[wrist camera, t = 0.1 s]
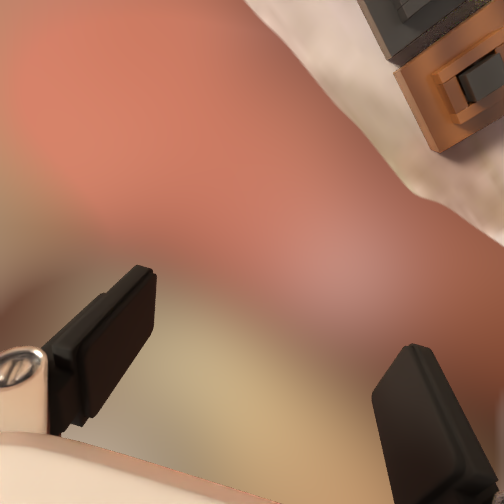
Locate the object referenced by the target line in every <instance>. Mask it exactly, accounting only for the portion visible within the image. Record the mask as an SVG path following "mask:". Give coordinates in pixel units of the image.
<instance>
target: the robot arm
mask: <svg viewBox="0 0 504 504" xmlns="http://www.w3.org/2000/svg"><path fill="white" fill-rule="evenodd" d="M156 282H157V275H156V274H154V273H153V270H152V269H150V268H147V267H143V266H140V265H136V266H134V267H133V268H132V269H131V270H130V271H129V272H128V273H127V274H126V275H125V276H124V277H123V278H121V279H120V280H119V281H118V282H117V283H116V284H115V285H114V286H113V287H112V288H111V289H110V290H109V291H108V292H107V293H102V294H100V295H98V296H97V297H96V298H95V299H94V300H93V301H92V302H91V303H90V304H89V305H88V306H86V307H85V308H84V309H83V310H82V311H81V312H80V313H79V314H77V315H76V316H75V317H74V318H73V319H72V320H71V321H70V322H69V323H68V324H67V325H66V326H64V327H63V328H62V329H61V330H60V331H59V332H58V333H57V334H56V335H55V336H53V337H52V338H51V339H50V340H49V341H48V342H47V343H46V344H45V345H44V346H43V347H41V348H37V347H34V346H20V347H14V348H11V349H7V350H5V351H3V352H1V353H0V504H281V503H278V502H274V501H271V500H268V499H265V498H262V497H259V496H256V495H252V494H249V493H246V492H243V491H240V490H237V489H234V488H230V487H227V486H224V485H221V484H218V483H215V482H211V481H208V480H205V479H202V478H199V477H195V476H192V475H189V474H186V473H182V472H179V471H176V470H173V469H170V468H167V467H163V466H160V465H157V464H154V463H151V462H147V461H144V460H141V459H137V458H134V457H131V456H128V455H124V454H121V453H118V452H114V451H111V450H107V449H103V448H100V447H97V446H93V445H90V444H87V443H83V442H80V441H75V440H71V439H67V438H62V437H61V433H62V432H64V431H65V430H66V429H67V428H68V426H69V425H70V424H74V425H77V426H80V427H83V425H84V424H85V422H86V421H87V419H88V418H89V417H90V418H93V417H95V416H96V415H97V413H98V412H99V410H100V409H101V408H102V406H103V405H104V403H105V401H106V400H107V399H108V397H109V396H110V394H111V393H112V391H113V390H114V388H115V387H116V385H117V384H118V382H119V381H120V379H121V378H122V377H123V375H124V374H125V372H126V371H127V369H128V368H129V366H130V365H131V363H132V362H133V360H134V359H135V357H136V356H137V354H138V353H139V351H140V350H141V348H142V347H143V345H144V344H145V342H146V341H147V339H148V338H149V337H150V335H151V333H152V331H153V327H154V313H155V298H156ZM372 404H373V409H374V413H375V418H376V422H377V427H378V431H379V436H380V440H381V445H382V449H383V454H384V458H385V462H386V467H387V472H388V476H389V481H390V485H391V490H392V494H393V498H394V503H395V504H504V490H501V491H499V489H498V487H497V485H496V483H495V482H497V481H498V478H497V476H496V475H495V473H494V471H493V469H492V467H491V465H490V463H489V461H488V459H487V457H486V455H485V453H484V451H483V449H482V447H481V445H480V443H479V441H478V440H477V437H476V436H475V434H474V432H473V430H472V428H471V426H470V424H469V422H468V420H467V418H466V416H465V414H464V412H463V410H462V408H461V406H460V405H459V402H458V400H457V399H456V397H455V395H454V393H453V391H452V389H451V387H450V385H449V383H448V381H447V379H446V377H445V375H444V373H443V371H442V369H441V367H440V366H439V364H438V362H437V360H436V358H435V356H434V354H433V352H432V350H431V349H429V348H427V347H424V346H420V345H417V344H410V345H409V346H404V347H403V348H402V350H401V351H400V353H399V354H398V356H397V357H396V359H395V360H394V362H393V363H392V364H391V366H390V367H389V369H388V370H387V372H386V373H385V375H384V376H383V377H382V379H381V380H380V382H379V383H378V385H377V386H376V388H375V389H374V391H373V393H372Z"/></svg>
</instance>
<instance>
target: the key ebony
mask: <svg viewBox="0 0 504 504" xmlns="http://www.w3.org/2000/svg"><path fill="white" fill-rule="evenodd" d="M458 77H459V79H460V82H461V84H462V86H463V89H464V91H465V93H466V96H467V98H468V100H469V102H478V101H479V100H481V99H482V98H484V97H486V96H487V95H489V94H490V93H492V92H494V91H495V90H497V89H498V88H500V87H502V86H503V85H504V63H503V60H502V57H501V55H500V53H495V54H492V55H489V56H487V57H486V58H484V59H483V60H482V61H480V62H479V63H477V64H476V65H474V66H473V67H471V68H470V69H468V70H467V71H465V72H464V73H462V74H461V75H459V76H458Z"/></svg>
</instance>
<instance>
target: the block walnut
mask: <svg viewBox="0 0 504 504" xmlns="http://www.w3.org/2000/svg"><path fill="white" fill-rule="evenodd" d="M495 53H500V55H501V57H502V60H503V63H504V0H491V1H489V2H488V3H487V4H485V5H484V6H483V7H481V8H480V9H479V10H477V11H476V12H475V13H473V14H472V15H471V16H469V17H468V18H467V19H465V20H464V21H462V22H461V23H460V24H458V25H457V26H456V27H454V28H453V29H452V30H450V31H449V32H448V33H446V34H445V35H444V36H442V37H441V38H440V39H438V40H437V41H436V42H434V43H433V44H432V45H430V46H429V47H427V48H426V49H425V50H423V51H422V52H421V53H419V54H418V55H417V56H415V57H414V58H413V59H411V60H410V61H409V62H407V63H406V64H405V65H403V66H402V67H401V68H399V69H398V70H397V71H395V72H394V73H393V74H394V76H395V78H396V80H397V82H398V84H399V86H400V88H401V90H402V92H403V94H404V96H405V98H406V100H407V102H408V104H409V106H410V108H411V110H412V113H413V115H414V117H415V119H416V121H417V123H418V125H419V127H420V129H421V131H422V133H423V135H424V137H425V139H426V141H427V143H428V145H429V147H430V149H431V150H434V151H436V152H439V153H441V152H443V151H445V150H446V149H448V148H450V147H452V146H453V145H455V144H457V143H458V142H460V141H462V140H463V139H465V138H467V137H469V136H470V135H472V134H474V133H475V132H477V131H479V130H480V129H482V128H484V127H486V126H487V125H489V124H491V123H492V122H494V121H496V120H497V119H499V118H501V117H503V116H504V85H503V86H502V87H500V88H498V89H497V90H495V91H494V92H492V93H490V94H489V95H487V96H486V97H484V98H482V99H481V100H479V101H478V102H469V100H468V98H467V96H466V93H465V91H464V89H463V86H462V84H461V82H460V79H459V77H458V76H459V75H461V74H462V73H464V72H465V71H467V70H468V69H470V68H471V67H473V66H474V65H476V64H477V63H479V62H480V61H482V60H483V59H484V58H486V57H487V56H489V55H492V54H495Z"/></svg>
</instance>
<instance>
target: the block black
mask: <svg viewBox="0 0 504 504" xmlns="http://www.w3.org/2000/svg"><path fill="white" fill-rule="evenodd" d="M465 1H466V0H357V2H358V4H359V6H360V8H361V10H362V12H363V14H364V16H365V18H366V20H367V22H368V24H369V26H370V28H371V30H372V32H373V34H374V36H375V38H376V40H377V42H378V44H379V46H380V48H381V50H382V52H383V54H384V56H385V58H386V60H388V59H390V58H392V57H393V56H394V55H396V54H397V53H398V52H400V51H401V50H402V49H404V48H405V47H406V46H408V45H409V44H410V43H411V42H413V41H414V40H415V39H417V38H418V37H419V36H421V35H422V34H423V33H424V32H426V31H427V30H428V29H430V28H431V27H432V26H434V25H435V24H436V23H438V22H439V21H440V20H441V19H443V18H444V17H445V16H447V15H448V14H449V13H451V12H452V11H453V10H454V9H456V8H457V7H458V6H460V5H461V4H462V3H464V2H465Z"/></svg>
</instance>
